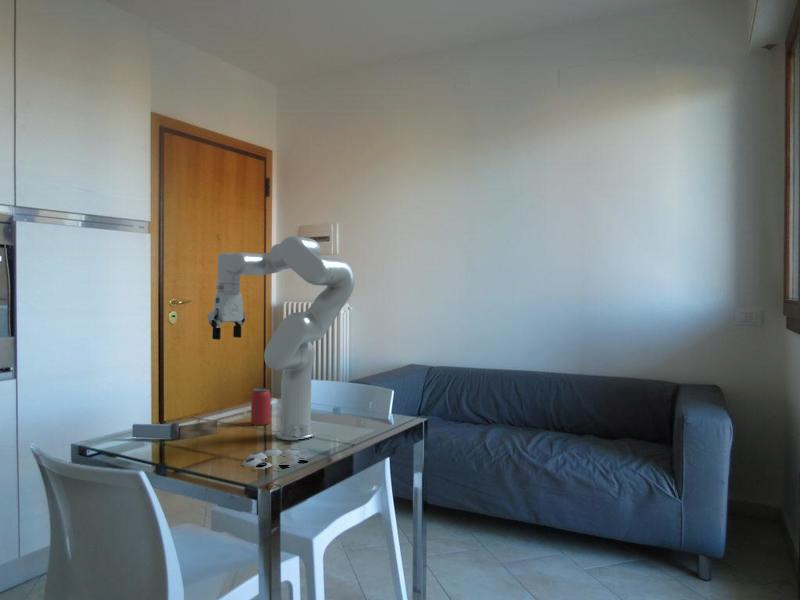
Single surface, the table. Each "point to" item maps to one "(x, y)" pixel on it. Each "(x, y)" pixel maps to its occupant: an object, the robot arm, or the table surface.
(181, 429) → the hinge frame
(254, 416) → the beer can
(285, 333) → the robot arm
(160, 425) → the hinged leaf
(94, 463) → the table surface
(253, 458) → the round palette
